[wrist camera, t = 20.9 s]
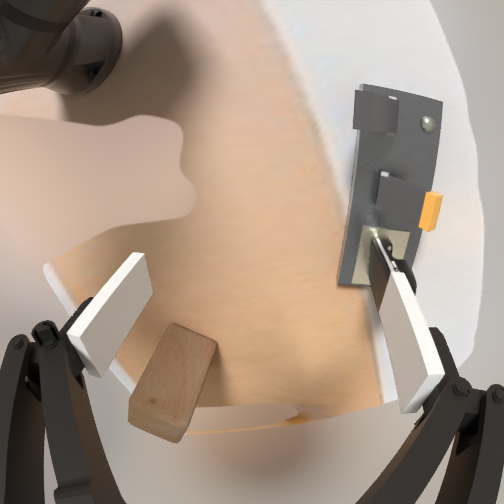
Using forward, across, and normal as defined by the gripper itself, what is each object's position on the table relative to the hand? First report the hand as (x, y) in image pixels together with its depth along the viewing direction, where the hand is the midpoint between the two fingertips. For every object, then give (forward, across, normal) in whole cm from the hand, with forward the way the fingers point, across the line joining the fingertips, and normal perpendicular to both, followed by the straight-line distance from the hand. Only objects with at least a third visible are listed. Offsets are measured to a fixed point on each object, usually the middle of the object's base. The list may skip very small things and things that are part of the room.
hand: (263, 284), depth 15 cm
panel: (+26, +14, -2) cm, 30 cm away
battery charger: (+24, +15, -11) cm, 30 cm away
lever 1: (+23, +13, +8) cm, 27 cm away
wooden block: (+26, -17, -36) cm, 47 cm away
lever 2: (+23, +12, -1) cm, 26 cm away
